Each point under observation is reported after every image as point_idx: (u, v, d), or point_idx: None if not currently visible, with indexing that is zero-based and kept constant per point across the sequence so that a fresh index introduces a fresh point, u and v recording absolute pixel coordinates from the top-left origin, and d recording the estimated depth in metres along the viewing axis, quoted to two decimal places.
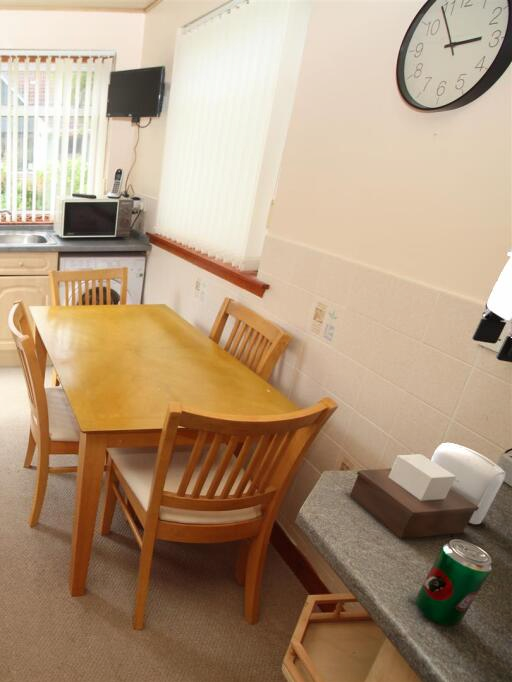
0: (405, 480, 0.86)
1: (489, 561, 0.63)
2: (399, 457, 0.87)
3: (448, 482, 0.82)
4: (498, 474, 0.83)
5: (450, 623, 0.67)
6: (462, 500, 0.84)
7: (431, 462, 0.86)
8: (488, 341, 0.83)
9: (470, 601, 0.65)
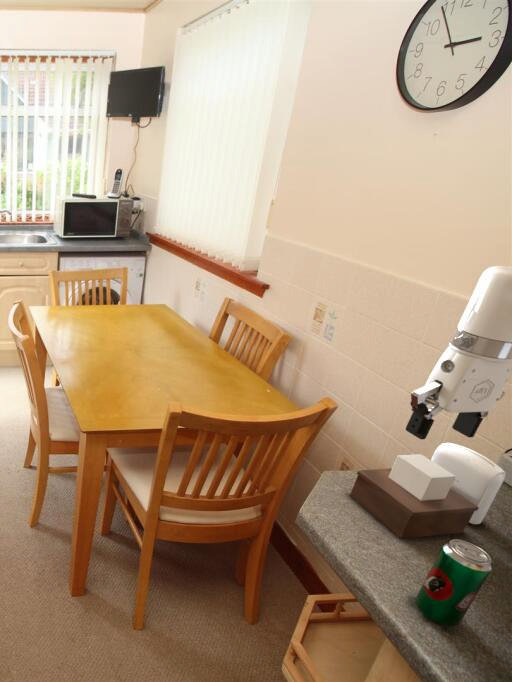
0: (405, 480, 0.86)
1: (489, 561, 0.63)
2: (399, 457, 0.87)
3: (448, 482, 0.82)
4: (498, 474, 0.83)
5: (450, 623, 0.67)
6: (462, 500, 0.84)
7: (431, 462, 0.86)
8: (463, 433, 0.83)
9: (470, 601, 0.65)
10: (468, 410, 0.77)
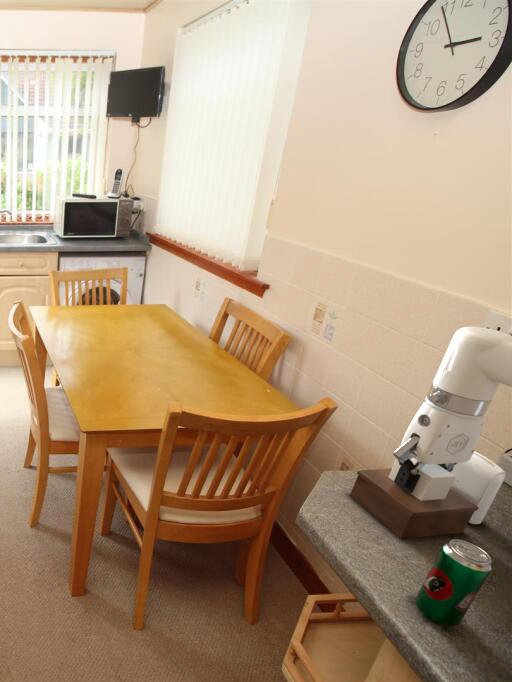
0: None
1: (489, 561, 0.63)
2: None
3: (448, 482, 0.82)
4: (498, 474, 0.83)
5: (450, 623, 0.67)
6: (462, 500, 0.84)
7: None
8: None
9: (470, 601, 0.65)
10: (445, 462, 0.81)
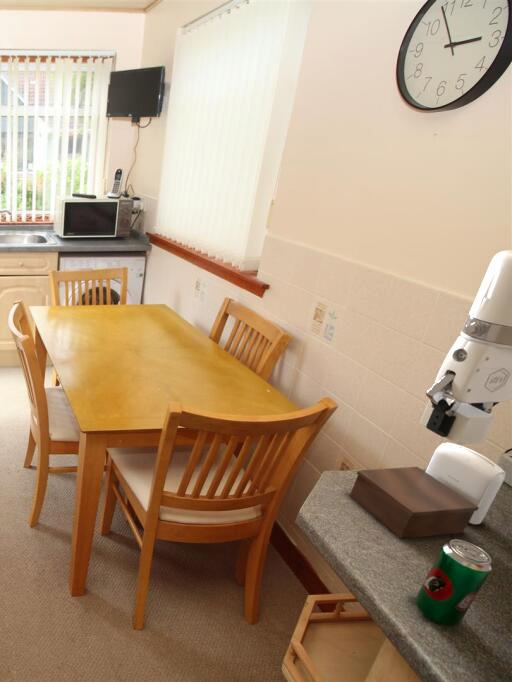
0: None
1: (489, 561, 0.63)
2: None
3: (486, 423, 0.76)
4: (498, 474, 0.83)
5: (450, 623, 0.67)
6: (462, 500, 0.84)
7: (467, 404, 0.79)
8: None
9: (470, 601, 0.65)
10: (483, 400, 0.75)
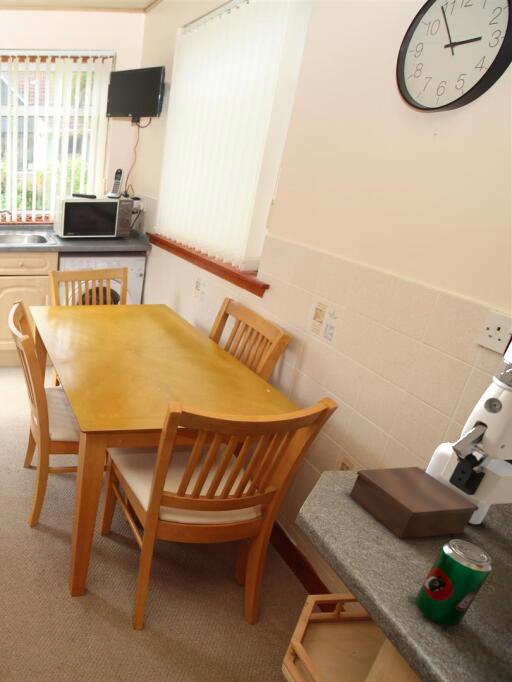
0: None
1: (489, 561, 0.63)
2: None
3: None
4: None
5: (450, 623, 0.67)
6: (462, 500, 0.84)
7: None
8: None
9: (470, 601, 0.65)
10: None
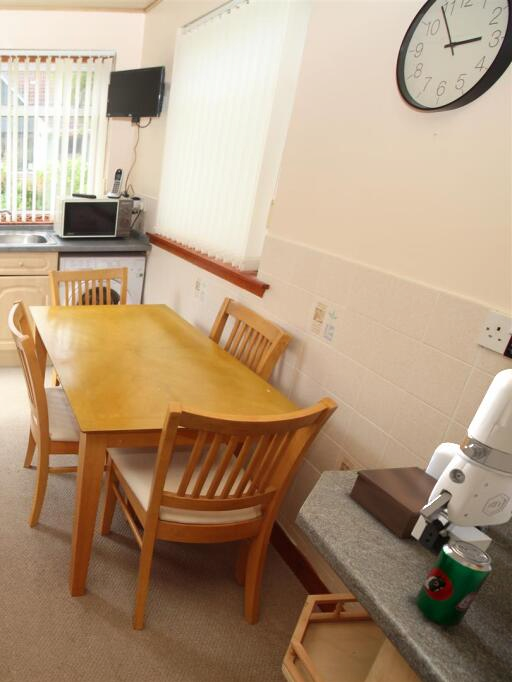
0: None
1: (489, 561, 0.63)
2: None
3: (483, 546, 0.71)
4: None
5: (450, 623, 0.67)
6: None
7: None
8: None
9: (470, 601, 0.65)
10: (480, 524, 0.70)
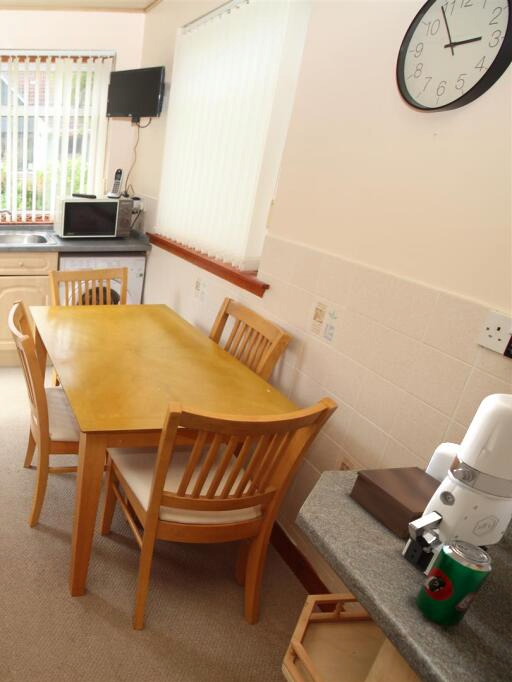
0: None
1: (489, 561, 0.63)
2: None
3: None
4: None
5: (450, 623, 0.67)
6: None
7: None
8: None
9: (470, 601, 0.65)
10: None
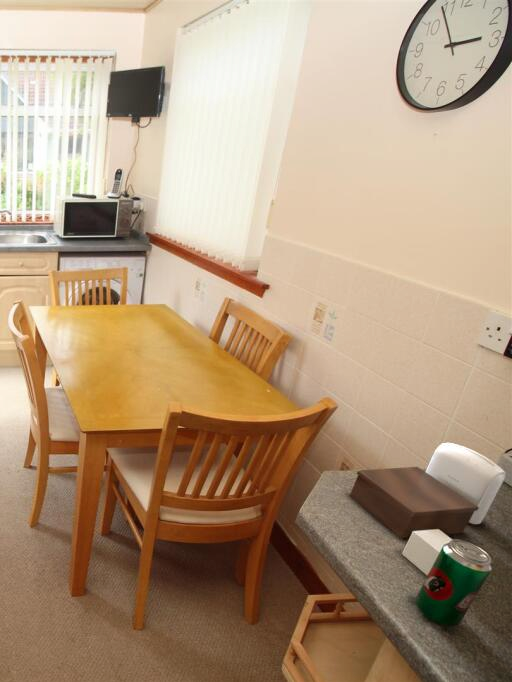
0: (422, 561, 0.76)
1: (489, 561, 0.63)
2: (415, 533, 0.77)
3: None
4: (498, 474, 0.83)
5: (450, 623, 0.67)
6: (462, 500, 0.84)
7: None
8: None
9: (470, 601, 0.65)
10: None
